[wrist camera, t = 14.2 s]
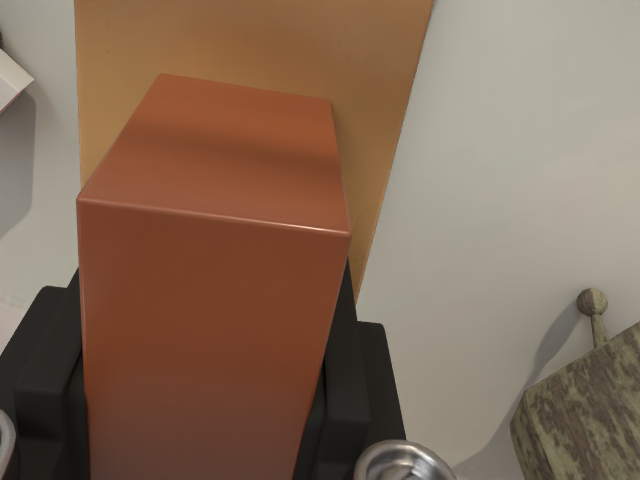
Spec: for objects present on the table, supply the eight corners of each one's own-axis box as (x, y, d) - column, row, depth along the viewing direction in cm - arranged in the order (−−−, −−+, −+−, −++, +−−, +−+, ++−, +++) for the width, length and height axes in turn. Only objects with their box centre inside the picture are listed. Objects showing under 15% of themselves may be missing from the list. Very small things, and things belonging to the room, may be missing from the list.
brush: (125, -106, 10) (-114, -75, 4) (407, -51, 11) (547, 44, 5) (122, 393, 16) (25, 692, 10) (303, 410, 17) (308, 701, 11)
